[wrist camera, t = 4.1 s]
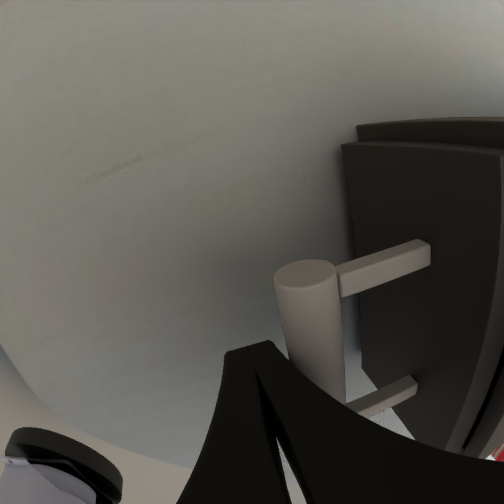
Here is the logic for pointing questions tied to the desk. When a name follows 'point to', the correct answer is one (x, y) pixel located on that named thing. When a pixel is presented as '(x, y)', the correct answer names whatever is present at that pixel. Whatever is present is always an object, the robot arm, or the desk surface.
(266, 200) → the desk surface
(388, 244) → the drawer
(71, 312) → the desk surface
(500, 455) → the pill bottle
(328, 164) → the desk surface
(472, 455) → the cabinet
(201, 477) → the robot arm
